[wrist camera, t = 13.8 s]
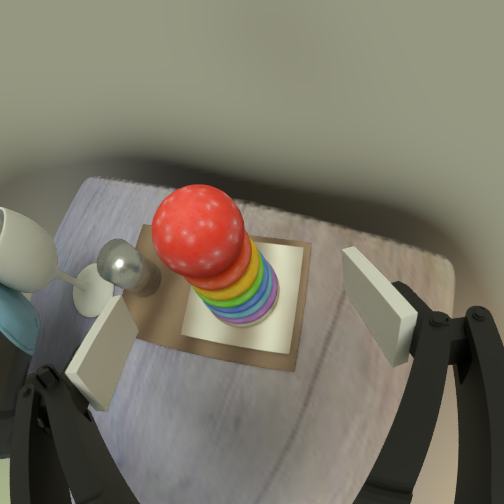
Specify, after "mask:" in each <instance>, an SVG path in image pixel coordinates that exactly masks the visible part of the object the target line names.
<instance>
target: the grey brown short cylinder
mask: <svg viewBox="0 0 504 504" xmlns="http://www.w3.org/2000/svg"><path fill="white" fill-rule="evenodd" d="M97 271H98V273H99V275H100V277H101V278H102V279H104V280H106V281H108V282H110V283H112V284H114V285H116V286H118V287H120V288H122V289H124V290H126V291H128V292H130V293H132V294H134V295H136V296H138V297H149V296H151V295H153V294H154V293H155V292H156V291H157V289H158V288H159V286H160V283H161V272H160V270H159V268H158V267H157V266H156V265H155V264H154V263H153V262H151V261H150V260H149V259H148V258H146V257H145V256H144V255H143V254H141V253H140V252H139V251H138V250H136V249H135V248H134V247H133V246H131V245H130V244H129V243H128V242H126V241H125V240H123V239H114V240H111V241H109V242H108V243H107V244H105V245H104V247H103V248H102V249H101V251H100V253H99V255H98V258H97Z"/></svg>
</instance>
